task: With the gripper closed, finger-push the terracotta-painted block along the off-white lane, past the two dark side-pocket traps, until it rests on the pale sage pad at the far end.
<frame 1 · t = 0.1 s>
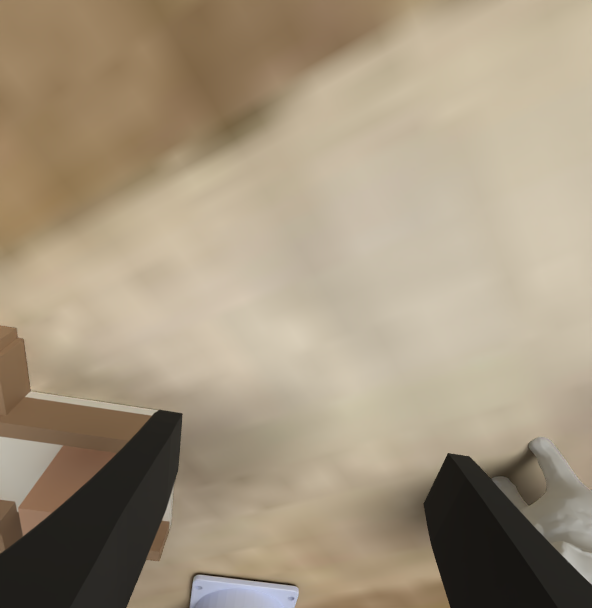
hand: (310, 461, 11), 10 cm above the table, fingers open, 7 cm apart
trap lane: (29, 453, 24), on the table
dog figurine: (540, 476, 25), on the table
block: (107, 471, 24), resting on trap lane
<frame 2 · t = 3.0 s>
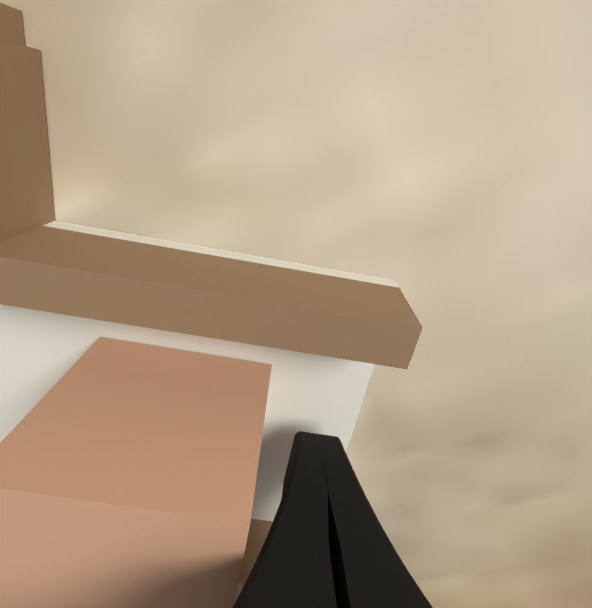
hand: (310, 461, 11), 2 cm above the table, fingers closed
trap lane: (48, 384, 11), on the table
block: (182, 416, 11), point 1 cm above the table, touching gripper
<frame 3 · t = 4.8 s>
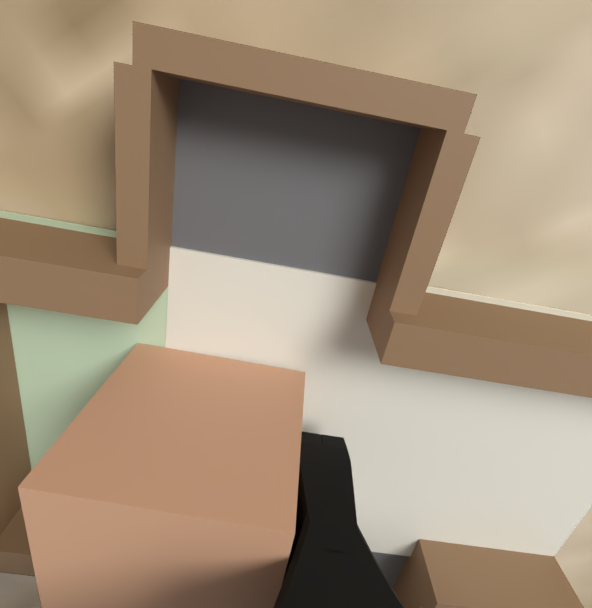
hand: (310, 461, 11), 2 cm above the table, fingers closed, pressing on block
trap lane: (330, 424, 12), on the table
block: (215, 422, 11), point 1 cm above the table, touching gripper, trap lane
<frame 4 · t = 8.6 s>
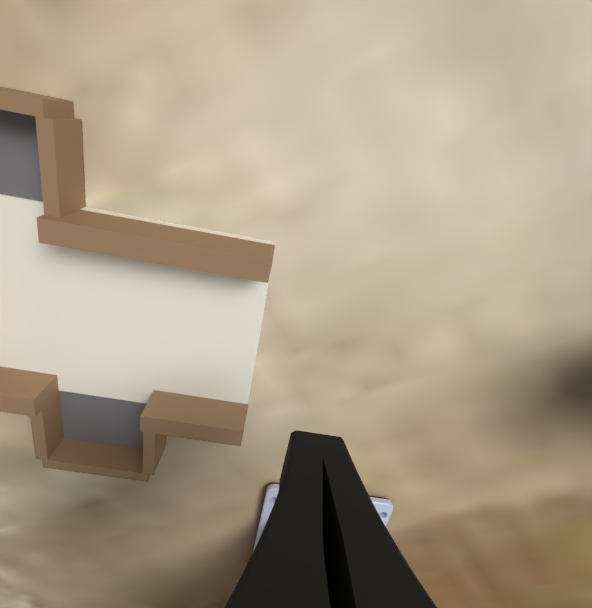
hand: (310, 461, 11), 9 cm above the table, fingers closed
trap lane: (77, 306, 19), on the table
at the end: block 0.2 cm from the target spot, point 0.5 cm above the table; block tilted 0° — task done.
